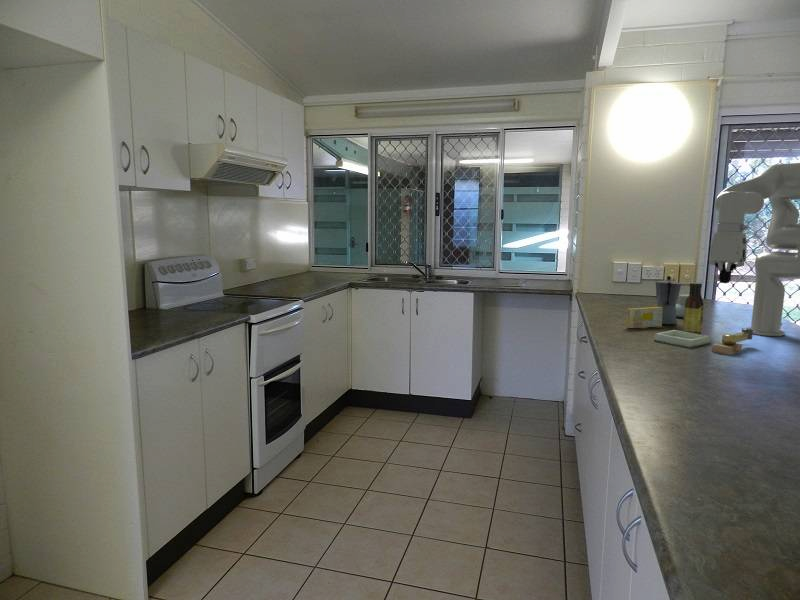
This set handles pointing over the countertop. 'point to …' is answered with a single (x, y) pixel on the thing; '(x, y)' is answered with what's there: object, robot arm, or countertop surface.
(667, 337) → the tray
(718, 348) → the orange brown block
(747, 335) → the lever
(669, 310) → the moka pot
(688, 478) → the countertop surface
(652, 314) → the candy box
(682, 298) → the air freshener
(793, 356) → the countertop surface
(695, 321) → the sauce bottle
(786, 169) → the robot arm
